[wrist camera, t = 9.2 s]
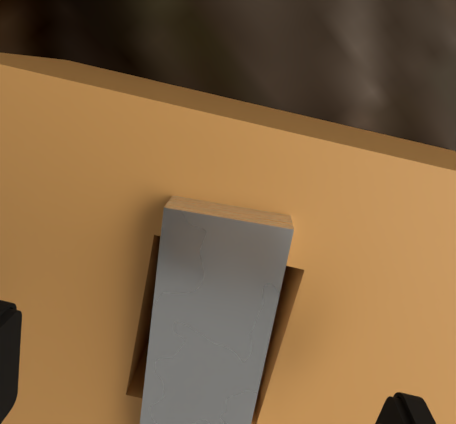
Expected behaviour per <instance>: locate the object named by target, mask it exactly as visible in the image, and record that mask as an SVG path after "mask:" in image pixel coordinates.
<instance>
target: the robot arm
mask: <svg viewBox="0 0 456 424" xmlns="http://www.w3.org/2000/svg"><path fill="white" fill-rule="evenodd" d="M21 326H22V313H21V311H19V310H17V307H16V304H14V303H11V302H7V301H3V300H0V424H1V423H2V422H3V420H4V419H5V417H6V416H7V415H8V413H9V412H10V411H11V409H12V408H13V406H14V404H15V401H16V398H17V394H18V379H19V362H20V344H21ZM375 424H436V422H435V420H434V418H433V416H432V414H431V412H430V410H429V408H428V406H427V404H426V402H425V401H424V399H423V398H421V397H419V396H414V395H410V394H406V393H401V392H397V393H395V394H394V396H393V397H392V396H389V397H387V399H386V401H385V403H384V405H383V407H382V409H381V412H380V414H379V416H378V418H377V421H376V423H375Z"/></svg>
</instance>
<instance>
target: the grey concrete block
mask: <svg viewBox="0 0 456 424" xmlns="http://www.w3.org/2000/svg"><path fill="white" fill-rule="evenodd" d="M293 232H294V227H293V223H292V219H291V215H285V214H279V213H273V212H267V211H262V210H256V209H250V208H244V207H238V206H232V205H226V204H220V203H214V202H208V201H203V200H197V199H191V198H185V197H179V196H172V197H171V198H170V200H169V201H168V202H167V204H166V205H165V206H164V209H163V218H162V227H161V236H160V245H159V254H158V263H157V272H156V281H155V290H154V299H153V309H152V318H151V327H150V336H149V345H148V354H147V363H146V372H145V381H144V390H143V399H142V408H141V417H140V424H251V422H252V418H253V413H254V409H255V404H256V400H257V395H258V391H259V386H260V381H261V377H262V372H263V368H264V363H265V359H266V354H267V350H268V345H269V341H270V336H271V332H272V327H273V323H274V318H275V314H276V309H277V305H278V300H279V295H280V291H281V286H282V282H283V277H284V273H285V268H286V264H287V259H288V255H289V250H290V246H291V241H292V237H293Z"/></svg>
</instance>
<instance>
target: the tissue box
mask: <svg viewBox="0 0 456 424" xmlns="http://www.w3.org/2000/svg"><path fill="white" fill-rule="evenodd" d="M172 196H179V197H185V198H191V199H197V200H203V201H208V202H214V203H220V204H226V205H232V206H238V207H244V208H250V209H256V210H262V211H267V212H273V213H279V214H285V215H291V219H292V223H293V227H294V232H293V237H292V241H291V246H290V250H289V255H288V259H287V264H286V268H285V273H284V277H283V282H282V286H281V291H280V295H279V300H278V305H277V309H276V314H275V318H274V323H273V327H272V332H271V336H270V341H269V345H268V350H267V354H266V359H265V363H264V368H263V372H262V377H261V381H260V386H259V391H258V395H257V400H256V404H255V409H254V413H253V418H252V422H251V424H375V423H376V421H377V418H378V416H379V414H380V412H381V409H382V407H383V405H384V403H385V401H386V399H387V397H389V396H392V397H393V396H394V394H395V393H397V392H401V393H406V394H410V395H414V396H419V397H421V398H423V399H424V401H425V402H426V404H427V406H428V408H429V410H430V412H431V414H432V416H433V418H434V420H435V422H436V424H456V152H455V151H452V150H448V149H444V148H440V147H436V146H431V145H427V144H423V143H419V142H414V141H410V140H406V139H401V138H397V137H393V136H389V135H384V134H380V133H376V132H372V131H367V130H363V129H359V128H355V127H350V126H346V125H342V124H337V123H333V122H329V121H325V120H320V119H316V118H312V117H308V116H303V115H299V114H295V113H290V112H286V111H282V110H278V109H273V108H269V107H265V106H261V105H256V104H252V103H248V102H244V101H239V100H235V99H231V98H226V97H222V96H218V95H214V94H209V93H205V92H201V91H197V90H192V89H188V88H184V87H180V86H175V85H171V84H167V83H162V82H158V81H154V80H150V79H145V78H141V77H137V76H133V75H128V74H124V73H120V72H116V71H111V70H107V69H103V68H98V67H94V66H90V65H86V64H81V63H77V62H73V61H69V60H61V59H52V58H44V57H35V56H26V55H17V54H8V53H0V300H3V301H7V302H11V303H14V304H16V307H17V310H19V311H21V313H22V326H21V344H20V362H19V379H18V394H17V398H16V401H15V404H14V406H13V408H12V409H11V411H10V412H9V413H8V415H7V416H6V417H5V419H4V420H3V422H2V423H1V424H140V417H141V408H142V399H143V390H144V381H145V372H146V363H147V354H148V345H149V336H150V327H151V318H152V309H153V299H154V290H155V281H156V272H157V263H158V254H159V245H160V236H161V227H162V218H163V209H164V206H165V205H166V204H167V202H168V201H169V200H170V198H171V197H172Z"/></svg>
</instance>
